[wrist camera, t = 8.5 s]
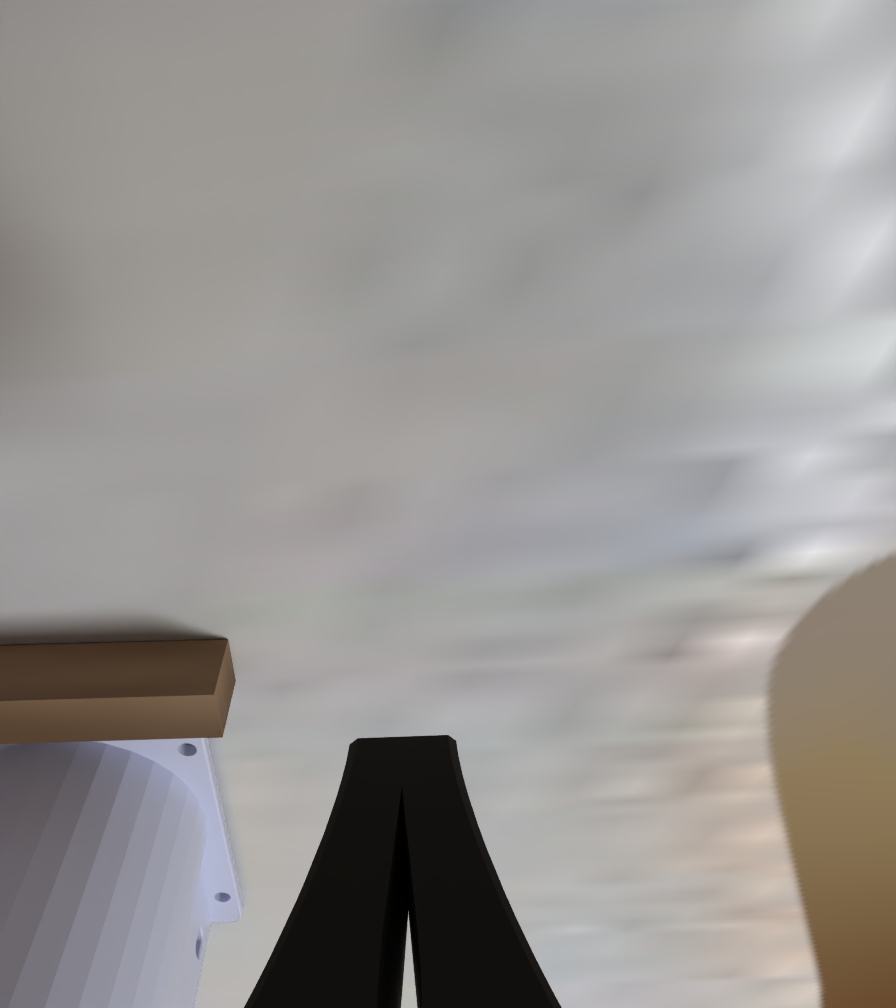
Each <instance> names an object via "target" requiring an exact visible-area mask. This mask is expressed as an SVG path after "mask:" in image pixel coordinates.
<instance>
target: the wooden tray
mask: <svg viewBox="0 0 896 1008" xmlns="http://www.w3.org/2000/svg"><path fill="white" fill-rule="evenodd" d="M234 685H235V675H234V670H233V664H232V659H231V653H230V648H229V642H228V640H191V641H154V642H116V643H79V644H41V645H3V646H0V744H24V743H56V742H88V741H121V740H153V739H185V738H217V737H223V733H224V728H225V724H226V720H227V715H228V711H229V707H230V702H231V698H232V694H233V689H234Z"/></svg>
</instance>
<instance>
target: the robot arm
mask: <svg viewBox="0 0 896 1008" xmlns="http://www.w3.org/2000/svg"><path fill="white" fill-rule="evenodd" d="M185 743H188V744H192V745H187V744H185ZM242 911H243V900H242V896H241V891H240V886H239V882H238V877H237V872H236V868H235V863H234V859H233V854H232V849H231V845H230V840H229V836H228V831H227V826H226V822H225V817H224V812H223V808H222V803H221V799H220V794H219V789H218V785H217V780H216V775H215V771H214V766H213V762H212V757H211V752H210V748H209V743H208V739H207V738H185V739H153V740H121V741H88V742H56V743H24V744H0V1008H194V1006H195V1001H196V996H197V991H198V986H199V981H200V976H201V971H202V966H203V961H204V956H205V951H206V946H207V941H208V936H209V931H210V925H211V924H214V923H231V922H235V921H237V920H239V919H240V918H241V917H242ZM408 911H409V922H410V932H411V943H412V954H413V964H414V975H415V985H416V996H417V1007H418V1008H561V1006H560V1004H559V1002H558V1000H557V999H556V997H555V995H554V993H553V991H552V989H551V987H550V986H549V984H548V982H547V980H546V978H545V976H544V974H543V972H542V970H541V968H540V966H539V964H538V962H537V960H536V958H535V956H534V954H533V952H532V950H531V948H530V946H529V944H528V942H527V940H526V938H525V936H524V934H523V931H522V929H521V927H520V925H519V923H518V921H517V919H516V917H515V915H514V912H513V910H512V908H511V906H510V903H509V901H508V899H507V897H506V894H505V892H504V890H503V887H502V885H501V882H500V880H499V878H498V875H497V873H496V870H495V868H494V865H493V863H492V860H491V858H490V856H489V853H488V851H487V848H486V846H485V843H484V840H483V838H482V835H481V832H480V829H479V827H478V824H477V821H476V818H475V815H474V812H473V809H472V806H471V803H470V800H469V796H468V793H467V789H466V786H465V782H464V779H463V775H462V771H461V766H460V761H459V757H458V751H457V744H456V741H455V740H454V739H453V738H451V737H450V736H449V735H438V736H411V737H383V738H358V739H356V740H355V741H354V742H353V743H351V744H350V746H349V751H348V756H347V761H346V765H345V769H344V773H343V777H342V781H341V784H340V787H339V791H338V794H337V797H336V800H335V803H334V806H333V809H332V812H331V815H330V818H329V821H328V824H327V826H326V829H325V832H324V835H323V837H322V840H321V842H320V845H319V847H318V850H317V852H316V855H315V857H314V860H313V862H312V865H311V867H310V870H309V872H308V875H307V877H306V880H305V882H304V885H303V887H302V889H301V892H300V894H299V896H298V899H297V901H296V903H295V905H294V907H293V909H292V912H291V914H290V916H289V918H288V920H287V922H286V924H285V927H284V929H283V931H282V933H281V935H280V937H279V939H278V941H277V944H276V946H275V948H274V950H273V952H272V954H271V956H270V958H269V960H268V962H267V964H266V966H265V968H264V970H263V972H262V974H261V976H260V978H259V980H258V982H257V984H256V986H255V988H254V990H253V992H252V994H251V995H250V997H249V999H248V1001H247V1003H246V1005H245V1007H244V1008H401V998H402V985H403V973H404V960H405V947H406V934H407V921H408Z"/></svg>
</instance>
